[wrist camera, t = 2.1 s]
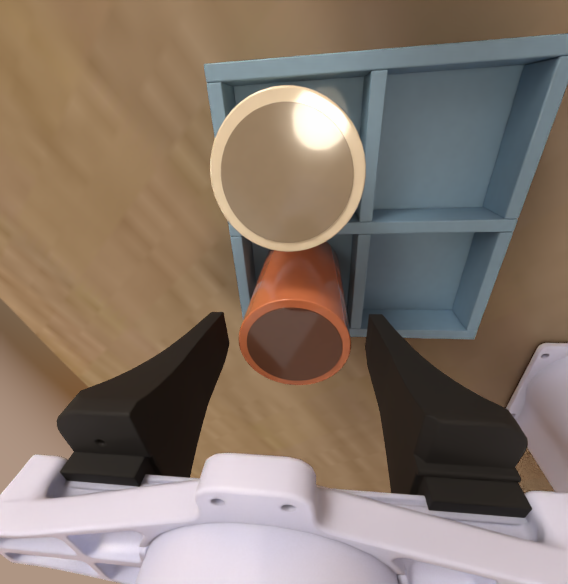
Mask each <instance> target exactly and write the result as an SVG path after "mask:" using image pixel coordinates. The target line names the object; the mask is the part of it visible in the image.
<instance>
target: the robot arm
mask: <svg viewBox="0 0 568 584" xmlns="http://www.w3.org/2000/svg"><path fill="white" fill-rule="evenodd" d="M228 347H229V339H228V334H227V328H226V323H225V318H224V313H223V312H211V313H210V314H209V315H208V316H206V317H205V318H204V319H203V320H202V321H201V322H199V323H198V324H197V325H196V326H195V327H194V328H192V329H191V330H190V331H189V332H188V333H187V334H185V335H184V336H183V337H181V338H180V339H179V340H178V341H176V342H175V343H174V344H172V345H171V346H170V347H168V348H167V349H165V350H164V351H162V352H161V353H159V354H158V355H156V356H155V357H153V358H151V359H150V360H148V361H146V362H144V363H143V364H141V365H139V366H137V367H135V368H133V369H132V370H130V371H128V372H125V373H123V374H121V375H119V376H117V377H115V378H112V379H110V380H108V381H105V382H103V383H100V384H97V385H95V386H92V387H90V388H87V389H84V390H81V391H80V392H79V393H78V394H77V395H76V397H75V398H74V399H73V400H72V401H71V402H70V404H69V405H68V406H67V407H66V408H65V409H64V411H63V412H62V413H61V414H60V415H59V417H58V419H57V427H58V430H59V431H60V433H61V434H62V436H63V437H64V439H65V440H66V441H67V443H68V444H69V445H70V447H71V448H72V449H73V451H74V453H73V454H72V455H71V457H70V458H69V460H67V459H66V458H64V457H60V456H50V455H33V456H32V457H31V459H30V460H29V461H28V462H27V463H26V465H25V466H24V467H23V468H22V469H21V471H20V472H19V473H18V474H17V475H16V477H15V478H14V479H13V480H12V482H11V483H10V484H9V485H8V486H7V487H6V489H5V490H4V491H3V492H2V494H1V495H0V554H1V555H2V556H4V557H5V558H7V559H8V560H9V561H11V562H13V563H20V564H27V565H35V566H41V567H46V568H52V569H58V570H63V571H68V572H72V573H78V574H82V575H86V576H91V577H96V578H100V579H104V580H109V581H113V582H118V583H122V584H568V343H543V344H541V345H539V346H538V348H537V349H536V351H535V353H534V355H533V357H532V359H531V361H530V363H529V365H528V367H527V369H526V371H525V373H524V374H523V376H522V378H521V380H520V382H519V384H518V386H517V388H516V390H515V392H514V394H513V396H512V397H511V399H510V401H509V403H508V405H507V407H506V408H503V407H501V406H499V405H497V404H495V403H493V402H491V401H489V400H487V399H485V398H483V397H481V396H479V395H478V394H476V393H474V392H472V391H471V390H469V389H467V388H465V387H464V386H462V385H461V384H459V383H457V382H456V381H454V380H453V379H451V378H450V377H448V376H447V375H445V374H444V373H442V372H441V371H440V370H438V369H437V368H436V367H434V366H433V365H432V364H431V363H429V362H428V361H427V360H426V359H424V358H423V357H422V356H421V355H420V354H419V353H418V352H417V351H415V350H414V349H413V348H412V347H411V346H410V345H409V344H408V343H407V342H406V341H405V339H404V338H403V337H402V336H401V335H400V334H399V333H398V332H397V331H396V330H395V329H394V327H393V326H392V325H391V324H390V323H389V322H388V320H387V319H386V318H385V317H384V316H383V315H382V314H369V318H368V327H367V335H366V343H365V350H366V358H367V365H368V369H369V373H370V376H371V380H372V384H373V388H374V391H375V395H376V399H377V403H378V406H379V411H380V416H381V422H382V428H383V435H384V441H385V448H386V455H387V463H388V471H389V478H390V487H391V493H382V492H369V491H356V490H343V489H330V488H327V487H323V486H319V485H316V474H315V472H314V470H313V468H312V467H311V466H310V465H309V464H307V463H306V462H304V461H302V460H301V459H296V458H292V457H286V456H271V455H255V454H240V453H219V454H215V455H213V456H211V457H210V458H208V459H207V460H206V461H205V464H204V468H203V471H202V474H201V477H200V478H190V474H191V469H192V465H193V460H194V456H195V452H196V447H197V443H198V439H199V435H200V432H201V428H202V424H203V420H204V417H205V413H206V410H207V406H208V403H209V400H210V398H211V395H212V393H213V390H214V388H215V385H216V383H217V380H218V378H219V375H220V373H221V370H222V368H223V365H224V362H225V359H226V356H227V352H228ZM526 448H528V450H529V451H530V453H531V454H532V456H533V457H534V459H535V461H536V462H537V464H538V465H539V467H540V469H541V470H542V472H543V473H544V475H545V477H546V478H547V480H548V481H549V483H550V484H551V486H552V488H553V489H554V491H555V492H550V491H530V492H526V493H525V494H524V493H523V491H522V489H521V487H520V485H519V484H518V482H519V483H520V481H521V477H520V475H519V474H518V472H517V470H516V468H515V466H516V465H517V463H518V462H519V460H520V459H521V457H522V456H523V454H524V453H525V451H526Z"/></svg>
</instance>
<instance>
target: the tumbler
mask: <svg viewBox="0 0 568 584" xmlns="http://www.w3.org/2000/svg"><path fill="white" fill-rule="evenodd" d="M239 346H240V350H241V352H242V355H243V356H244V358H245V360H246V361H247V362H248V364H249V365H250V366H251V367H252V368H253V369H254V370H255V371H257V372H258V373H259V374H261V375H263V376H264V377H266V378H268V379H271V380H273V381H276V382H280V383H284V384H290V385H307V384H313V383H317V382H320V381H323V380H325V379H328V378H329V377H331V376H333V375H334V374H336V373H337V372H338V371H339V370H340V369H341V368H342V367H343V366H344V364H345V363H346V361H347V359H348V357H349V354H350V350H351V338H350V331H349V324H348V318H347V311H346V304H345V297H344V290H343V284H342V277H341V270H340V264H339V259H338V256H337V254H336V252H335V250H334V249H333V247H332V246H331V245H330V244H329V243H328V242H324V243H322V244H320V245H318V246H316V247H313V248H310V249H307V250H301V251H293V252H285V251H276V250H271V249H270V250H269V251H268V253H267V256H266V258H265V261H264V264H263V267H262V270H261V272H260V275H259V278H258V281H257V283H256V286H255V289H254V292H253V294H252V297H251V300H250V303H249V306H248V308H247V311H246V314H245V317H244V319H243V322H242V325H241V328H240V332H239Z"/></svg>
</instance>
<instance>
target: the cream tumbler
mask: <svg viewBox="0 0 568 584" xmlns="http://www.w3.org/2000/svg"><path fill="white" fill-rule="evenodd" d="M210 175H211V183H212V188H213V192H214V195H215V198H216V201H217V203H218V205H219V207H220V209H221V211H222V213H223V214H224V216H225V217H226V219H227V220H228V221H229V223H230V224H231V225H232V226H233V227H234V228H235V229H236V230H237V231H238V232H239V233H240V234H241V235H243V236H244V237H245V238H247V239H248V240H250V241H251V242H253V243H255V244H257V245H259V246H262V247H264V248H268V249H271V250H276V251H285V252H293V251H301V250H307V249H310V248H313V247H316V246H318V245H320V244H322V243H324V242H326V241H328V240H329V239H331V238H332V237H334V236H335V235H336V234H337V233H338V232H340V231H341V230H342V228H343V227H344V226H345V225H346V224H347V223H348V222H349V220H350V219H351V217H352V216H353V214H354V212H355V211H356V209H357V207H358V205H359V202H360V200H361V197H362V194H363V190H364V185H365V179H366V161H365V153H364V149H363V145H362V141H361V139H360V136H359V134H358V131H357V129H356V128H355V126H354V124H353V122H352V121H351V119H350V118H349V117H348V115H347V114H346V113H345V112H344V111H343V110H342V109H341V108H340V107H339V106H338V105H337V104H336V103H335V102H334V101H332V100H331V99H330V98H328V97H327V96H325V95H323V94H321V93H319V92H317V91H315V90H312V89H309V88H306V87H301V86H295V85H280V86H273V87H269V88H266V89H263V90H259V91H257V92H255V93H253V94H252V95H250V96H248V97H247V98H245V99H244V100H242V101H241V102H240V103H239V104H238V105H236V106H235V107H234V108H233V109H232V110H231V112H230V113H229V114H228V115H227V117H226V118H225V119H224V121H223V123H222V125H221V126H220V128H219V130H218V132H217V135H216V137H215V140H214V144H213V147H212V152H211V159H210Z"/></svg>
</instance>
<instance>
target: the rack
mask: <svg viewBox="0 0 568 584" xmlns="http://www.w3.org/2000/svg"><path fill="white" fill-rule="evenodd" d="M204 70H205V77H206V82H207V90H208V97H209V103H210V110H211V116H212V123H213V129H214V135H215V137H216V135H217V132H218V130H219V128H220V126H221V125H222V123H223V121H224V119H225V118H226V117H227V115H228V114H229V113H230V112H231V110H232V109H233V108H234V107H235V106H236V105H238V104H239V103H240V102H241V101H242V100H244V99H245V98H247V97H248V96H250V95H252V94H253V93H255V92H257V91H259V90H263V89H266V88H269V87H273V86H280V85H295V86H301V87H306V88H309V89H312V90H315V91H317V92H319V93H321V94H323V95H325V96H327V97H328V98H330V99H331V100H332V101H334V102H335V103H336V104H337V105H338V106H339V107H340V108H341V109H342V110H343V111H344V112H345V113H346V114H347V115H348V117H349V118H350V119H351V121H352V122H353V124H354V126H355V128H356V129H357V131H358V134H359V136H360V139H361V141H362V145H363V149H364V153H365V161H366V179H365V185H364V190H363V194H362V197H361V200H360V202H359V205H358V207H357V209H356V211H355V212H354V214H353V216H352V217H351V219H350V220H349V222H348V223H347V224H346V225H345V226H344V227H343V228H342V230H341V231H340V232H338V233H337V234H336V235H335V236H334V237H332V238H331V239H329V240H328V241H326V242H328V243H329V244H330V245H331V246H332V247H333V249H334V250H335V252H336V254H337V256H338V259H339V264H340V270H341V277H342V284H343V290H344V297H345V304H346V311H347V318H348V324H349V331H350V337H366V335H367V327H368V318H369V314H382V315H383V316H384V317H385V318H386V319H387V320H388V322H389V323H390V324H391V325H392V326H393V327H394V329H395V330H396V331H397V332H398V333H399V334H400V335H401V336H402V337H403V338H436V339H475V336H476V333H477V330H478V327H479V325H480V322H481V319H482V316H483V314H484V311H485V308H486V305H487V303H488V300H489V297H490V295H491V292H492V289H493V286H494V284H495V281H496V278H497V275H498V273H499V270H500V267H501V265H502V262H503V259H504V256H505V254H506V251H507V248H508V245H509V243H510V240H511V237H512V234H513V232H512V231H514V229H515V226H516V223H517V221H518V219H516V218H519V215H520V212H521V210H522V207H523V204H524V202H525V199H526V196H527V193H528V191H529V188H530V185H531V182H532V180H533V177H534V174H535V172H536V169H537V166H538V163H539V161H540V158H541V155H542V152H543V150H544V147H545V144H546V141H547V139H548V136H549V133H550V131H551V128H552V125H553V122H554V120H555V117H556V114H557V111H558V109H559V106H560V103H561V101H562V98H563V95H564V92H565V90H566V87H567V84H568V33H565V34H553V35H542V36H530V37H518V38H506V39H494V40H482V41H470V42H458V43H446V44H434V45H423V46H411V47H399V48H387V49H375V50H363V51H351V52H339V53H327V54H316V55H304V56H292V57H280V58H268V59H256V60H244V61H232V62H220V63H209V64H204ZM228 224H229V231H230V236H231V237H230V238H231V245H232V251H233V257H234V264H235V270H236V277H237V283H238V290H239V296H240V303H241V309H242V316H243V319H244V317H245V314H246V311H247V308H248V306H249V303H250V300H251V297H252V294H253V292H254V289H255V286H256V283H257V281H258V278H259V275H260V272H261V270H262V267H263V264H264V261H265V258H266V256H267V253H268V251H269V250H270V249H268V248H264V247H262V246H259V245H257V244H255V243H253V242H251V241H250V240H248V239H247V238H245V237H244V236H243V235H241V234H240V233H239V232H238V231H237V230H236V229H235V228H234V227H233V226H232V225H231V224H230V223H229V221H228Z"/></svg>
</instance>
